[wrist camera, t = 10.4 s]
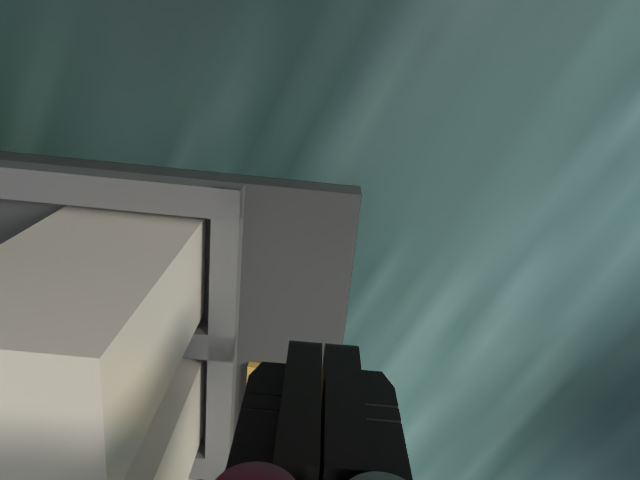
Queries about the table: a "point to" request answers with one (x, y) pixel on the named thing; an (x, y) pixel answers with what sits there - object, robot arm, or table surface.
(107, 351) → the tab inner
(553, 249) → the table surface
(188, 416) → the tab middle
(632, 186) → the table surface
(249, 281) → the switch box
